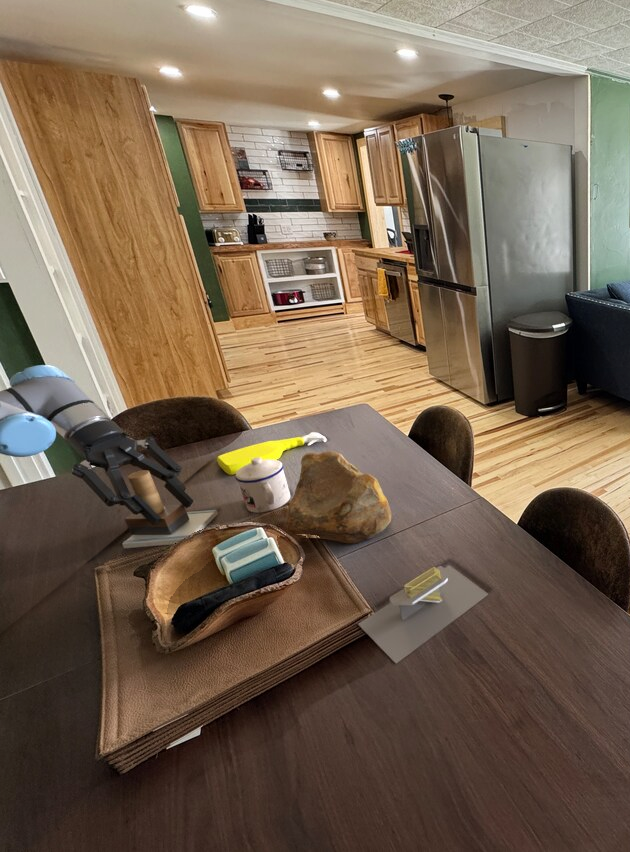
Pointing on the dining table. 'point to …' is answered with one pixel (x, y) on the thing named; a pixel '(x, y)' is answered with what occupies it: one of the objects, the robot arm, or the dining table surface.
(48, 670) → the dining table surface
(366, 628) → the plastering trowel
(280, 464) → the teacup with lid
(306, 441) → the spray bottle
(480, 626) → the dining table surface
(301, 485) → the rough brown rock
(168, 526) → the rubber stamp
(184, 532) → the tile
